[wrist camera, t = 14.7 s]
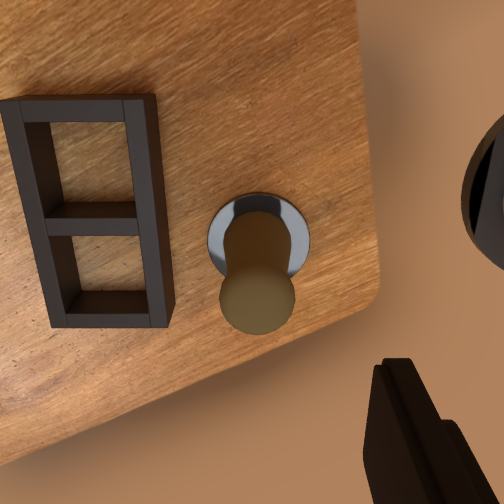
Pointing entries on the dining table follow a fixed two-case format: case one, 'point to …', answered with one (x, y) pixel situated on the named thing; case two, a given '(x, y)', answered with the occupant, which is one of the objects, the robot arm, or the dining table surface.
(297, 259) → the coaster
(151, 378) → the dining table surface
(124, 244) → the dining table surface
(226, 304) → the cork
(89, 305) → the holder
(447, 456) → the robot arm
